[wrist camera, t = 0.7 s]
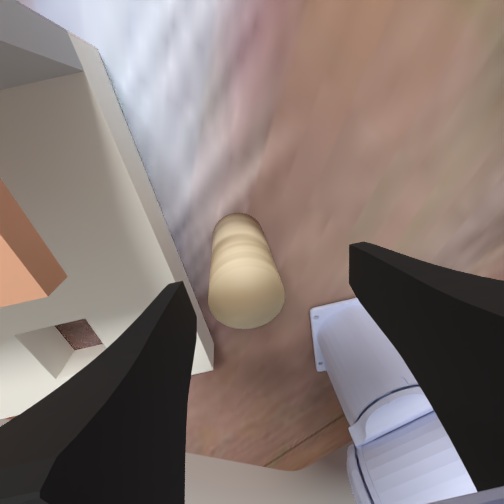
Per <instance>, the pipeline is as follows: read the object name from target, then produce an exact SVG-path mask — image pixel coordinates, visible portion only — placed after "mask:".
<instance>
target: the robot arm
mask: <svg viewBox="0 0 504 504" xmlns="http://www.w3.org/2000/svg"><path fill="white" fill-rule="evenodd" d="M349 284H350V286H351V288H352V290H353V291H354V293H355V295H356V297H357V298H353V299H349V300H345V301H340V302H336V303H332V304H327V305H323V306H319V307H314V308H312V309H311V310H310V321H311V330H312V338H313V347H314V356H315V365H316V369H317V371H319V372H321V371H327V373H328V376H329V378H330V381H331V383H332V385H333V388H334V390H335V392H336V395H337V397H338V400H339V402H340V404H341V407H342V409H343V412H344V414H345V416H346V419H347V421H348V422H349V424H350V427H349V428H348V430H349V432H350V434H351V437H352V439H353V441H354V444H352V445H350V446H349V447H348V450H347V463H346V467H347V474H348V479H349V483H350V486H351V490H352V493H353V496H354V498H355V501H356V504H504V281H501V280H496V279H491V278H486V277H481V276H477V275H473V274H468V273H464V272H460V271H456V270H452V269H448V268H444V267H441V266H438V265H434V264H431V263H427V262H424V261H421V260H418V259H415V258H412V257H409V256H406V255H403V254H400V253H397V252H394V251H391V250H389V249H386V248H383V247H380V246H377V245H374V244H371V243H367V242H360V243H355V244H350V245H349ZM314 316H315V317H314ZM196 339H197V316H196V313H195V311H194V308H193V305H192V303H191V300H190V298H189V295H188V293H187V290H186V288H185V285H184V282H183V281H179V282H174V283H170V284H168V285H167V286H166V287H165V288H164V289H163V290H162V291H161V292H160V293H159V295H158V296H157V297H156V298H155V299H154V300H153V301H152V302H151V304H150V305H149V306H148V307H147V308H146V309H145V310H144V311H143V312H142V314H141V315H140V316H139V317H138V318H137V319H136V320H135V321H134V322H133V323H132V324H131V325H130V326H129V327H128V328H127V329H126V330H125V331H124V332H123V333H122V334H121V335H120V336H119V337H118V338H117V339H116V340H115V341H114V342H113V343H112V344H111V345H110V346H109V347H108V348H106V349H105V350H104V351H103V352H102V353H101V354H100V355H98V356H97V357H96V358H95V359H94V360H93V361H91V362H90V363H89V364H88V365H87V366H85V367H84V368H83V369H81V370H80V371H79V372H78V373H76V374H75V375H74V376H72V377H71V378H70V379H69V380H67V381H66V382H65V383H64V384H62V385H61V386H60V387H58V388H57V389H56V390H54V391H53V392H51V393H50V394H49V395H47V396H46V397H44V398H43V399H42V400H40V401H39V402H37V403H36V404H34V405H33V406H31V407H30V408H28V409H27V410H25V411H24V412H23V413H21V414H20V415H18V416H16V417H15V418H13V419H12V420H10V421H9V422H7V423H6V424H4V425H3V426H1V427H0V504H184V502H185V500H184V496H185V490H184V489H185V445H186V421H187V402H188V393H189V386H190V379H191V373H192V366H193V360H194V353H195V346H196Z"/></svg>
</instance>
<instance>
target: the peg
mask: <svg viewBox="0 0 504 504" xmlns="http://www.w3.org/2000/svg"><path fill="white" fill-rule="evenodd" d="M284 301H285V291H284V287H283V284H282V282H281V279H280V276H279V274H278V271H277V268H276V266H275V263H274V260H273V258H272V255H271V252H270V250H269V247H268V244H267V242H266V239H265V236H264V234H263V231H262V228H261V226H260V224H259V223H258V222H257V220H256V219H254V218H253V217H251V216H250V215H247V214H243V213H233V214H230V215H227V216H225V217H223V218H222V219H221V220H220V221H219V222H218V223H217V224H216V226H215V228H214V231H213V241H212V255H211V268H210V282H209V295H208V305H209V309H210V311H211V313H212V315H213V316H214V317H215V318H216V319H217V320H218V321H219V322H221V323H222V324H224V325H226V326H228V327H231V328H236V329H251V328H256V327H259V326H262V325H264V324H266V323H268V322H270V321H271V320H272V319H274V318H275V317H276V316H277V315H278V314H279V312H280V311H281V309H282V307H283V305H284Z"/></svg>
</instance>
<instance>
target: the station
mask: <svg viewBox="0 0 504 504" xmlns="http://www.w3.org/2000/svg"><path fill="white" fill-rule="evenodd" d="M179 281H183V282H184V285H185V288H186V290H187V293H188V295H189V298H190V300H191V303H192V305H193V308H194V311H195V313H196V316H197V339H196V346H195V353H194V360H193V366H192V373H191V375H194V374H198V373H203V372H207V371H211V370H213V365H214V342H213V340H212V337H211V335H210V332H209V330H208V327H207V324H206V322H205V319H204V317H203V314H202V312H201V309H200V307H199V304H198V302H197V299H196V297H195V294H194V292H193V289H192V287H191V284H190V282H189V279H188V277H187V274H186V272H185V269H184V267H183V264H182V261H181V259H180V256H179V254H178V251H177V249H176V246H175V244H174V241H173V239H172V236H171V234H170V231H169V229H168V226H167V224H166V221H165V219H164V216H163V214H162V211H161V209H160V206H159V204H158V201H157V199H156V196H155V193H154V191H153V188H152V186H151V183H150V181H149V178H148V176H147V173H146V171H145V168H144V166H143V163H142V161H141V158H140V156H139V153H138V151H137V148H136V146H135V143H134V141H133V138H132V136H131V133H130V130H129V128H128V125H127V123H126V120H125V118H124V115H123V113H122V110H121V108H120V105H119V103H118V100H117V98H116V95H115V93H114V90H113V88H112V85H111V83H110V80H109V78H108V75H107V73H106V70H105V67H104V65H103V62H102V60H101V57H100V55H99V52H98V50H97V48H96V47H95V46H93V45H91V44H89V43H88V42H86V41H84V40H83V39H81V38H79V37H78V36H76V35H74V34H72V33H71V32H69V31H67V30H66V29H64V28H62V27H61V26H59V25H57V24H55V23H54V22H52V21H50V20H49V19H47V18H45V17H44V16H42V15H40V14H38V13H37V12H35V11H33V10H32V9H30V8H28V7H27V6H25V5H23V4H21V3H20V2H18V1H16V0H0V419H3V418H8V417H12V416H16V415H20V414H21V413H23V412H24V411H25V410H27V409H28V408H30V407H31V406H33V405H34V404H36V403H37V402H39V401H40V400H42V399H43V398H44V397H46V396H47V395H49V394H50V393H51V392H53V391H54V390H56V389H57V388H58V387H60V386H61V385H62V384H64V383H65V382H66V381H67V380H69V379H70V378H71V377H72V376H74V375H75V374H76V373H78V372H79V371H80V370H81V369H83V368H84V367H85V366H87V365H88V364H89V363H90V362H91V361H93V360H94V359H95V358H96V357H97V356H98V355H100V354H101V353H102V352H103V351H104V350H105V349H106V348H108V347H109V346H110V345H111V344H112V343H113V342H114V341H115V340H116V339H117V338H118V337H119V336H120V335H121V334H122V333H123V332H124V331H125V330H126V329H127V328H128V327H129V326H130V325H131V324H132V323H133V322H134V321H135V320H136V319H137V318H138V317H139V316H140V315H141V314H142V312H143V311H144V310H145V309H146V308H147V307H148V306H149V305H150V304H151V302H152V301H153V300H154V299H155V298H156V297H157V296H158V295H159V293H160V292H161V291H162V290H163V289H164V288H165V287H166V286H167V285H168V284H170V283H174V282H179ZM81 319H86V320H87V322H88V323H89V325H90V326H91V327H92V329H93V330H94V332H95V333H96V334H97V336H98V337H99V339H100V340H101V341H102V343H103V344H100V345H96V346H91V347H87V348H83V349H78V350H74V349H73V348H72V347H71V345H70V344H69V343H68V342H67V340H66V339H65V338H64V337H63V336H62V334H61V333H60V332H59V331H58V329H57V328H56V327H55V325H59V324H64V323H68V322H72V321H77V320H81Z"/></svg>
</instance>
